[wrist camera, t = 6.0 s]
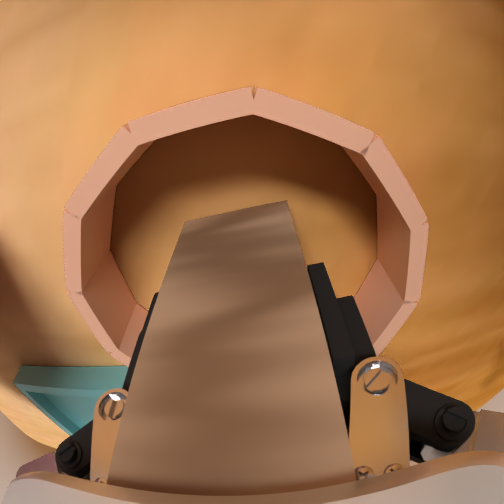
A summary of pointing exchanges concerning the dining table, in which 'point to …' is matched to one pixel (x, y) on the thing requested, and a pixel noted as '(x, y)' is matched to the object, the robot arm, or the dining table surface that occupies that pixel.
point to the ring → (211, 111)
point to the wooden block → (234, 370)
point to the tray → (68, 391)
